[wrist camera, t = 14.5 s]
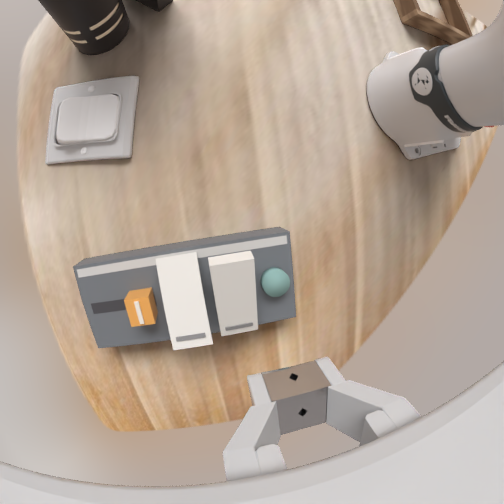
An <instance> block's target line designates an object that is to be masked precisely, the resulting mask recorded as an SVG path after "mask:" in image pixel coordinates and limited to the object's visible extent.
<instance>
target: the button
mask: <svg viewBox="0 0 504 504" xmlns="http://www.w3.org/2000/svg"><path fill="white" fill-rule="evenodd" d="M260 283H261V286H262V288H263V290H264V291H265V292H266V293H267V294H268V295H269V296H272V297H279V296H282V295H283V294H285V293H286V292H287V290H288V289H289V286H290V279H289V276H288V275H287V274H286V273H285V272H284V271H283V270H282V269H280V268H277V267H272V268H269V269H267V270H265V271H264V272H263V274H262V276H261V279H260Z"/></svg>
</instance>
